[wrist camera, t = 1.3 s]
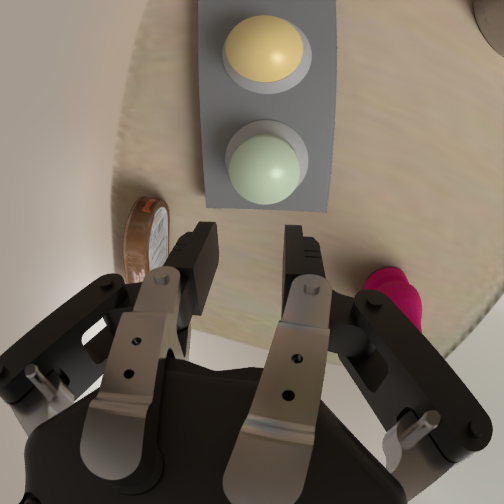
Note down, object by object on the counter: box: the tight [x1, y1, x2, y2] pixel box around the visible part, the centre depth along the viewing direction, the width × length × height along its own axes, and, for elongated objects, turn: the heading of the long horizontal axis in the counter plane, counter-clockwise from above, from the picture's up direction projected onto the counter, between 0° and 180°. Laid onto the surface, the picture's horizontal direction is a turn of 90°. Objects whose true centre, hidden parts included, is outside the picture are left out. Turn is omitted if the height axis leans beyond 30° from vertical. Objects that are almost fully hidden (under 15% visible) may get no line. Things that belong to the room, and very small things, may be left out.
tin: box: [123, 196, 169, 284], centre depth 30 cm, size 15×3×8 cm, turn 170°
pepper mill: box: [363, 267, 422, 333], centre depth 26 cm, size 7×7×20 cm
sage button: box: [229, 133, 300, 205], centre depth 22 cm, size 6×6×2 cm
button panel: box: [198, 0, 337, 213], centre depth 20 cm, size 12×30×3 cm, turn 0°
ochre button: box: [226, 15, 303, 83], centre depth 17 cm, size 6×6×2 cm
